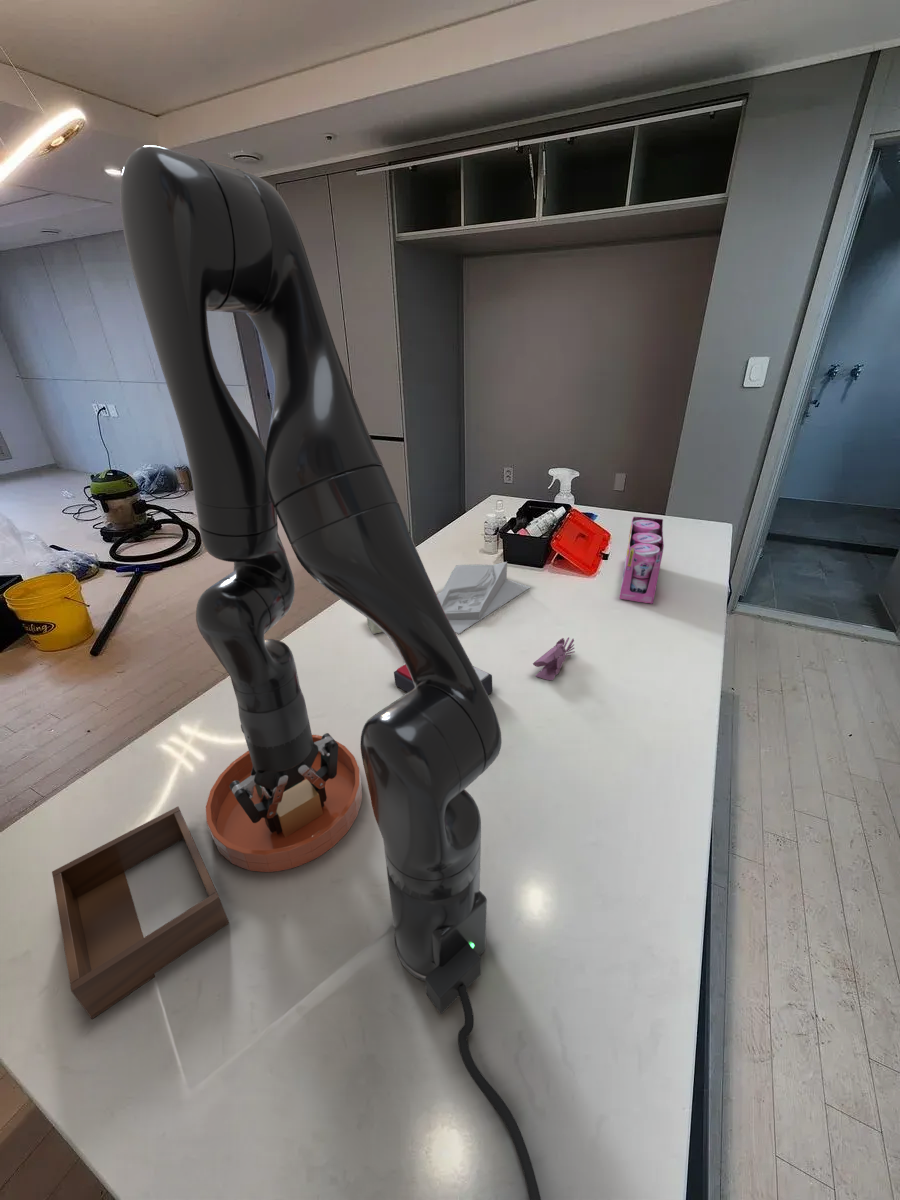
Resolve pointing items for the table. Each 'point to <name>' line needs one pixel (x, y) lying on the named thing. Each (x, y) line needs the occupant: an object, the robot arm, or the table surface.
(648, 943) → the table surface
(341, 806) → the bowl
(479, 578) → the ramp
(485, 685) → the red and grey box
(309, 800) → the tan rectangular block
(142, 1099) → the table surface
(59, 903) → the holder
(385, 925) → the table surface
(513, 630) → the table surface
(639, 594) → the gum box
